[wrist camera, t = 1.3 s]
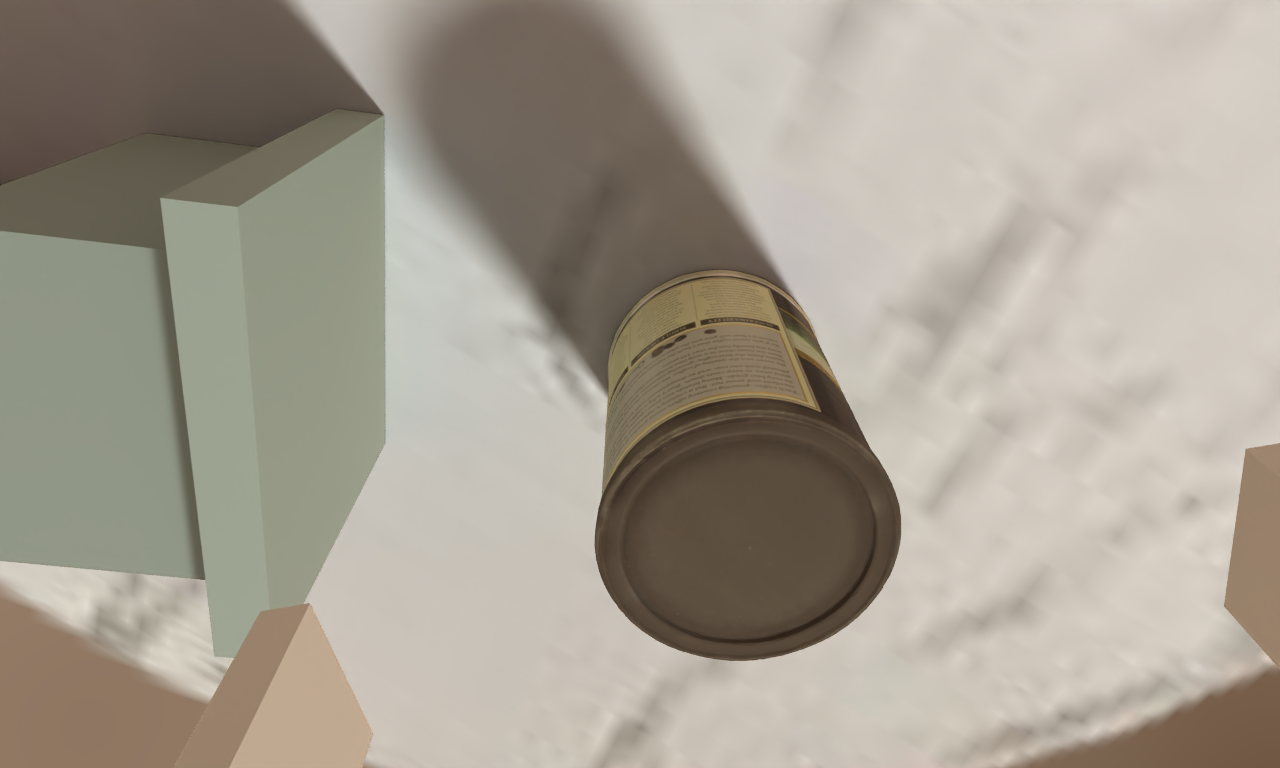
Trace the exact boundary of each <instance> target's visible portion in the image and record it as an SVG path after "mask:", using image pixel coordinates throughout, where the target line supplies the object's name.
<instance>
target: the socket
mask: <svg viewBox="0 0 1280 768" xmlns="http://www.w3.org/2000/svg"><path fill="white" fill-rule="evenodd" d="M384 445H385V214H384V115H381V114H373V113H365V112H358V111H350V110H342V109H334V110H332V111H330V112H328V113H326V114H324V115H322V116H321V117H319V118H317V119H315V120H313V121H311V122H309V123H307V124H305V125H303V126H301V127H299V128H297V129H295V130H293V131H291V132H289V133H287V134H285V135H283V136H281V137H279V138H277V139H275V140H273V141H271V142H269V143H267V144H265V145H263V146H261V147H254V146H246V145H238V144H230V143H222V142H213V141H205V140H197V139H189V138H181V137H173V136H165V135H157V134H149V133H144V134H141V135H139V136H136V137H133V138H130V139H127V140H125V141H122V142H119V143H116V144H113V145H111V146H108V147H105V148H102V149H100V150H97V151H94V152H91V153H88V154H86V155H83V156H80V157H77V158H74V159H72V160H69V161H66V162H63V163H61V164H58V165H55V166H52V167H49V168H47V169H44V170H41V171H38V172H35V173H33V174H30V175H27V176H24V177H22V178H19V179H16V180H13V181H10V182H8V183H5V184H2V185H0V561H8V562H18V563H29V564H40V565H51V566H61V567H72V568H83V569H94V570H104V571H115V572H126V573H137V574H147V575H158V576H169V577H180V578H190V579H201V580H206V588H207V597H208V605H209V613H210V622H211V630H212V639H213V647H214V655H215V656H217V657H229V658H235V656H236V654H237V652H238V651H239V649H240V647H241V645H242V644H243V642H244V640H245V638H246V636H247V635H248V633H249V631H250V629H251V627H252V626H253V624H254V622H255V620H256V619H257V617H258V615H259V613H260V611H265V610H271V609H277V608H283V607H289V606H295V605H301V604H303V603H304V601H305V599H306V598H307V596H308V594H309V592H310V590H311V588H312V586H313V584H314V582H315V580H316V578H317V576H318V574H319V572H320V570H321V568H322V566H323V564H324V562H325V560H326V558H327V556H328V554H329V552H330V550H331V549H332V547H333V545H334V543H335V541H336V539H337V537H338V535H339V533H340V531H341V529H342V527H343V525H344V523H345V521H346V519H347V517H348V515H349V513H350V511H351V509H352V507H353V505H354V503H355V502H356V500H357V498H358V496H359V494H360V492H361V490H362V488H363V486H364V484H365V482H366V480H367V478H368V476H369V474H370V472H371V470H372V468H373V466H374V464H375V462H376V460H377V458H378V456H379V455H380V453H381V451H382V449H383V447H384Z"/></svg>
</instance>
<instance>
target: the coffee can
mask: <svg viewBox="0 0 1280 768" xmlns="http://www.w3.org/2000/svg"><path fill="white" fill-rule="evenodd" d="M608 381H609V391H608V406H607V420H606V435H605V452H604V469H603V484H602V498H601V502H600V506H599V509H598V516H597V522H596V530H595V553H596V560H597V564H598V568H599V572H600V575H601V578H602V580H603V582H604V585H605V587H606V589H607V591H608V592H609V594H610V596H611V598H612V599H613V601H614V602H615V603H616V604H617V606H618V608H619V609H620V610H621V611H622V612H623V613H624V614H625V616H626V617H627V618H628V619H629V620H630V621H631V622H632V623H633V624H635V625H636V626H637V627H638V628H640V629H641V630H642V631H643V632H645V633H646V634H648V635H649V636H651V637H652V638H654V639H656V640H657V641H659V642H661V643H663V644H665V645H667V646H670V647H672V648H675V649H677V650H680V651H683V652H687V653H690V654H694V655H698V656H702V657H707V658H712V659H719V660H729V661H749V660H758V659H766V658H771V657H777V656H782V655H786V654H789V653H792V652H795V651H798V650H802V649H804V648H807V647H809V646H812V645H814V644H817V643H819V642H821V641H823V640H825V639H827V638H829V637H831V636H833V635H834V634H836V633H837V632H839V631H840V630H842V629H843V628H845V627H846V626H848V625H849V624H850V623H851V622H852V621H854V620H855V619H856V618H857V617H858V616H860V614H861V613H862V612H863V611H864V610H866V609H867V607H868V606H869V605H870V604H871V603H872V601H873V600H874V599H875V598H876V596H877V595H878V594H879V592H880V591H881V590H882V588H883V586H884V584H885V582H886V581H887V579H888V578H889V576H890V574H891V572H892V569H893V567H894V564H895V561H896V558H897V555H898V551H899V546H900V540H901V515H900V507H899V503H898V500H897V497H896V493H895V491H894V488H893V486H892V483H891V481H890V479H889V477H888V475H887V473H886V471H885V470H884V468H883V466H882V465H881V463H880V461H879V460H878V458H877V457H876V456H875V454H874V453H873V452H872V450H871V449H870V447H869V445H868V443H867V441H866V439H865V437H864V435H863V433H862V431H861V429H860V427H859V425H858V423H857V421H856V419H855V417H854V415H853V412H852V410H851V408H850V406H849V404H848V403H847V401H846V399H845V397H844V394H843V392H842V390H841V388H840V386H839V384H838V382H837V380H836V378H835V376H834V374H833V372H832V370H831V368H830V366H829V364H828V362H827V360H826V358H825V356H824V354H823V352H822V350H821V348H820V345H819V343H818V341H817V338H816V335H815V332H814V329H813V327H812V325H811V323H810V321H809V319H808V317H807V316H806V314H805V313H804V311H803V310H802V309H801V308H800V307H799V305H798V304H797V303H796V302H795V301H794V300H793V299H792V298H791V297H790V296H789V295H788V294H786V293H785V292H784V291H782V290H781V289H780V288H778V287H777V286H775V285H773V284H772V283H770V282H768V281H766V280H764V279H762V278H759V277H757V276H754V275H750V274H746V273H742V272H737V271H728V270H709V271H701V272H695V273H690V274H686V275H681V276H679V277H676V278H674V279H672V280H670V281H668V282H666V283H664V284H662V285H660V286H658V287H657V288H655V289H653V290H652V291H651V292H649V293H648V294H647V295H646V296H644V297H643V298H642V299H640V301H639V302H638V303H637V304H636V305H635V306H634V307H633V308H632V309H631V310H630V312H629V313H628V314H627V316H626V317H625V319H624V320H623V322H622V323H621V325H620V327H619V328H618V330H617V331H616V334H615V337H614V340H613V343H612V346H611V349H610V354H609V360H608Z"/></svg>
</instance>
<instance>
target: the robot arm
mask: <svg viewBox="0 0 1280 768" xmlns="http://www.w3.org/2000/svg"><path fill="white" fill-rule="evenodd" d="M1224 607H1225V608H1226V609H1227V610H1228V611H1229V612H1230V613H1231V614H1232V616H1233V617H1234V618H1235V619H1236V620H1237V621H1238V622H1239V624H1240V625H1241V626H1242V627H1243V628H1244V629H1245V630H1246V631H1247V633H1248V634H1249V635H1250V636H1251V637H1252V638H1253V639H1254V640H1255V642H1256V643H1257V644H1258V645H1259V646H1260V647H1261V648H1262V649H1263V651H1264V652H1265V653H1266V654H1267V655H1268V656H1269V657H1270V658H1271V660H1272V661H1273V662H1274V663H1275V664H1276V665H1277V666H1278V667H1279V669H1280V443H1279V444H1273V445H1267V446H1261V447H1255V448H1249V449H1246V451H1245V458H1244V465H1243V473H1242V480H1241V487H1240V494H1239V502H1238V509H1237V516H1236V523H1235V531H1234V538H1233V545H1232V552H1231V560H1230V567H1229V574H1228V581H1227V589H1226V596H1225V603H1224ZM372 736H373V732H372V730H371V728H370V726H369V724H368V722H367V720H366V718H365V716H364V714H363V712H362V709H361V707H360V705H359V703H358V701H357V699H356V697H355V695H354V693H353V691H352V689H351V687H350V685H349V683H348V680H347V678H346V676H345V674H344V672H343V670H342V668H341V666H340V664H339V662H338V660H337V658H336V656H335V654H334V652H333V649H332V647H331V645H330V643H329V641H328V639H327V637H326V635H325V633H324V631H323V629H322V627H321V625H320V623H319V620H318V618H317V616H316V614H315V612H314V610H313V608H312V606H311V604H310V603H308V604H301V605H295V606H289V607H283V608H277V609H271V610H265V611H260V613H259V615H258V617H257V619H256V620H255V622H254V624H253V626H252V627H251V629H250V631H249V633H248V635H247V636H246V638H245V640H244V642H243V644H242V645H241V647H240V649H239V651H238V652H237V654H236V656H235V658H234V660H233V661H232V663H231V665H230V667H229V669H228V670H227V672H226V674H225V676H224V678H223V679H222V681H221V683H220V685H219V686H218V688H217V690H216V692H215V694H214V695H213V697H212V699H211V701H210V703H209V704H208V706H207V708H206V710H205V712H204V713H203V715H202V717H201V719H200V720H199V722H198V724H197V726H196V728H195V729H194V732H193V733H192V735H191V737H190V738H189V740H188V742H187V744H186V745H185V747H184V749H183V751H182V753H181V755H180V756H179V758H178V760H177V762H176V764H175V765H174V767H173V768H362V767H363V764H364V761H365V758H366V755H367V752H368V748H369V745H370V742H371V739H372Z"/></svg>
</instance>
